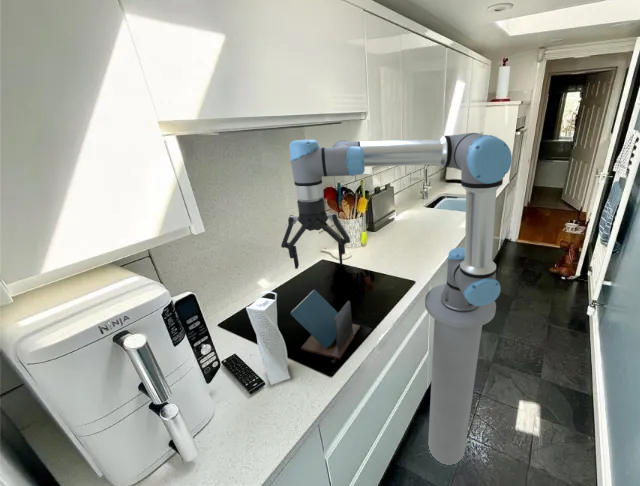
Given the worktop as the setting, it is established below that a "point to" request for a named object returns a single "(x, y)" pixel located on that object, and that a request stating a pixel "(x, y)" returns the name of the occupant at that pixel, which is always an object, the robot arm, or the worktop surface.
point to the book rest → (343, 336)
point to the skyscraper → (269, 338)
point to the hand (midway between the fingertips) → (319, 265)
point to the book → (317, 318)
